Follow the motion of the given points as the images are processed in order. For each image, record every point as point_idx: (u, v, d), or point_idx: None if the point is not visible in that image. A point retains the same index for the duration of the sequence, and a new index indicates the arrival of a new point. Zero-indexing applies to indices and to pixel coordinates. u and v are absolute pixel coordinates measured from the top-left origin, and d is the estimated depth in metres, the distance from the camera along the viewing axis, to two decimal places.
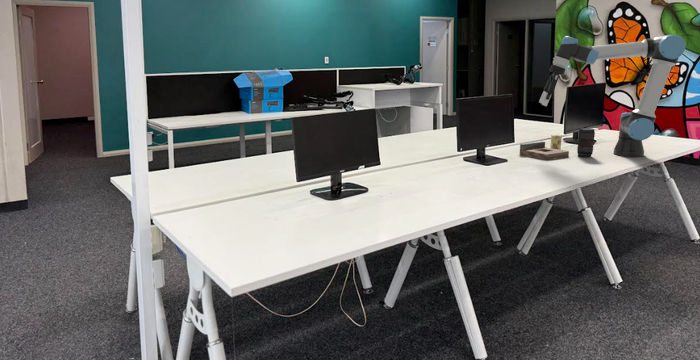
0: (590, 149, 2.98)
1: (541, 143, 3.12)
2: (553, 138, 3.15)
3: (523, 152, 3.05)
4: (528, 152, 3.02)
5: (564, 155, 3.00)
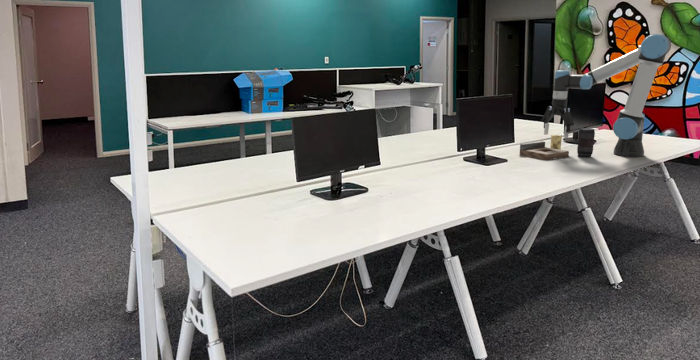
0: (590, 149, 2.98)
1: (541, 143, 3.12)
2: (553, 138, 3.15)
3: (523, 152, 3.05)
4: (528, 152, 3.02)
5: (564, 155, 3.00)
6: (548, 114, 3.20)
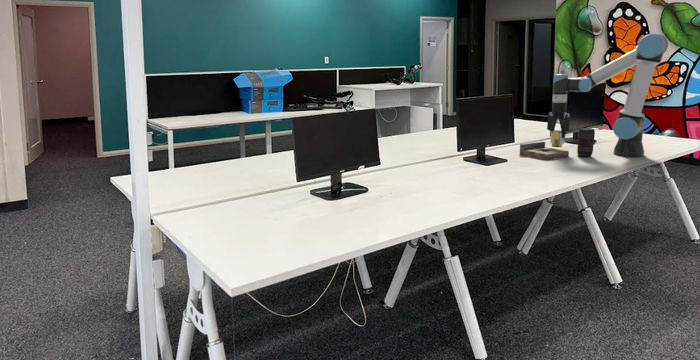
0: (590, 149, 2.98)
1: (541, 143, 3.12)
2: (554, 133, 3.14)
3: (523, 152, 3.05)
4: (528, 152, 3.02)
5: (564, 155, 3.00)
6: (551, 120, 3.19)
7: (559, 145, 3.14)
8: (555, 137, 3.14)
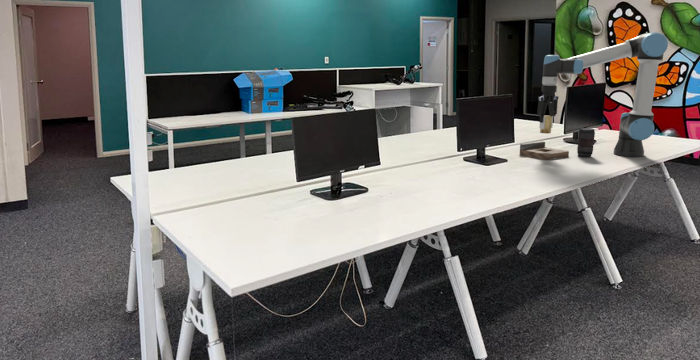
0: (590, 149, 2.98)
1: (541, 143, 3.12)
2: (550, 119, 2.98)
3: (523, 152, 3.05)
4: (528, 152, 3.02)
5: (564, 155, 3.00)
6: None
7: None
8: (551, 123, 2.99)
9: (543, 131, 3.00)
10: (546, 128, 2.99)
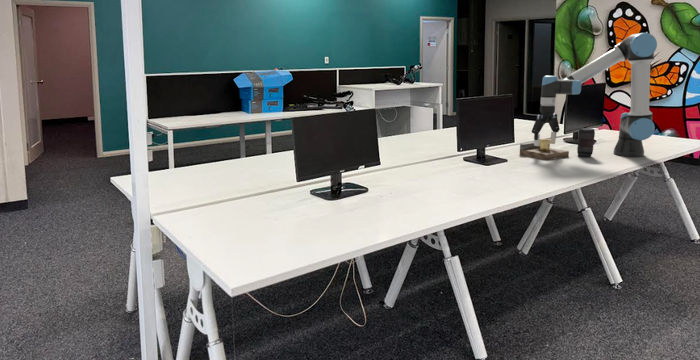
0: (590, 149, 2.98)
1: None
2: (549, 142, 3.01)
3: (523, 152, 3.05)
4: (528, 152, 3.02)
5: (564, 155, 3.00)
6: None
7: None
8: (549, 146, 3.02)
9: None
10: (544, 151, 3.01)
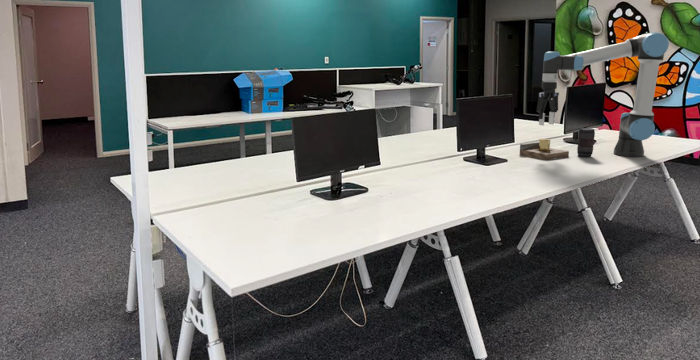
0: (590, 149, 2.98)
1: None
2: (549, 142, 3.01)
3: (523, 152, 3.05)
4: (528, 152, 3.02)
5: (564, 155, 3.00)
6: None
7: None
8: (549, 146, 3.02)
9: None
10: (544, 151, 3.01)
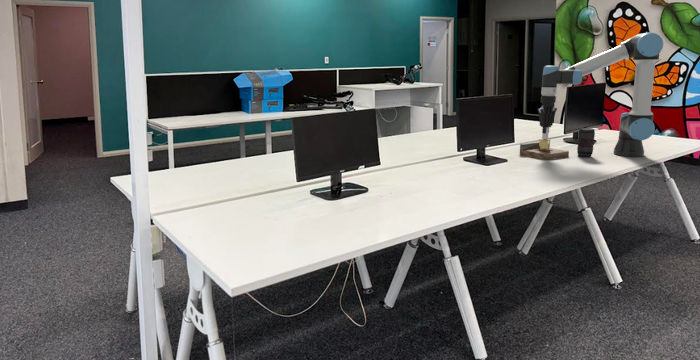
0: (590, 149, 2.98)
1: None
2: (549, 142, 3.01)
3: (523, 152, 3.05)
4: (528, 152, 3.02)
5: (564, 155, 3.00)
6: None
7: None
8: (549, 146, 3.02)
9: None
10: (544, 151, 3.01)
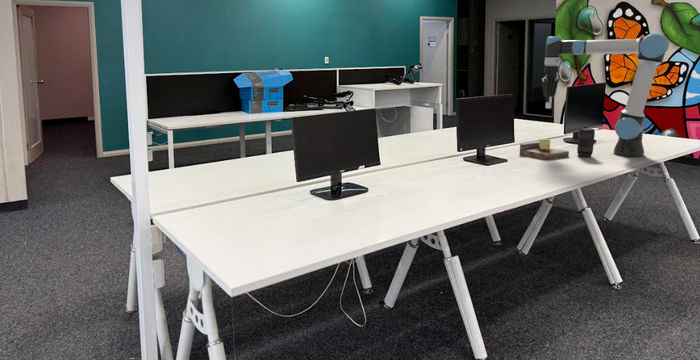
0: (590, 149, 2.98)
1: None
2: (549, 142, 3.01)
3: (523, 152, 3.05)
4: (528, 152, 3.02)
5: (564, 155, 3.00)
6: None
7: None
8: (549, 146, 3.02)
9: None
10: (544, 151, 3.01)
